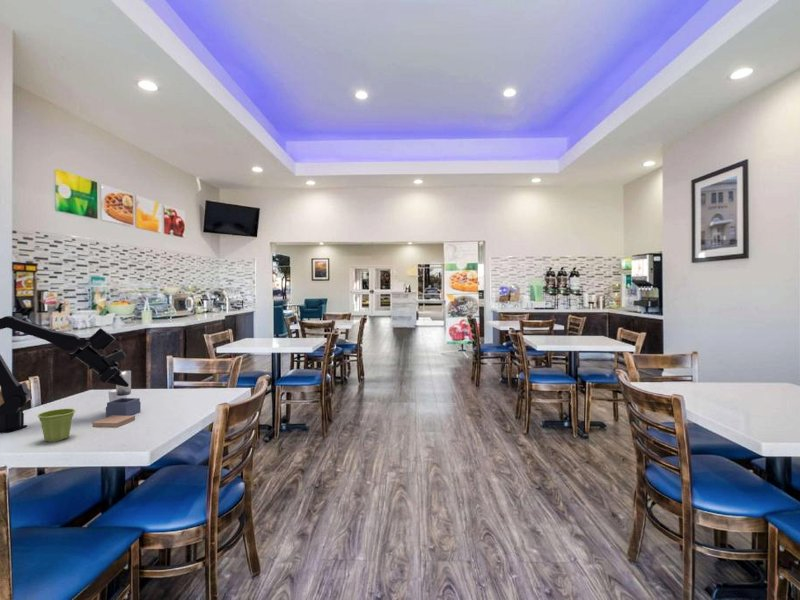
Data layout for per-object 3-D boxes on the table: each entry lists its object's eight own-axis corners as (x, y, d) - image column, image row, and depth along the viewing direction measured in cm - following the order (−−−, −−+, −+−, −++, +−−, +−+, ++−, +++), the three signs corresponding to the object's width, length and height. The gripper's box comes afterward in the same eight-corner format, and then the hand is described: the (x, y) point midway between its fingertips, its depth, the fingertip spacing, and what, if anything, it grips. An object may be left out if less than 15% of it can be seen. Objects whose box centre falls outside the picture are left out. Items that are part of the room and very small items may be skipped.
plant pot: (73, 440, 131) (73, 413, 131) (34, 446, 126) (34, 418, 126) (77, 432, 139) (77, 407, 139) (41, 437, 134) (40, 411, 134)
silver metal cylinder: (125, 395, 158) (125, 372, 158) (113, 395, 158) (113, 372, 158) (133, 393, 162) (133, 370, 162) (122, 392, 163) (122, 370, 163)
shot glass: (116, 409, 167) (115, 392, 167) (104, 408, 170) (104, 391, 170) (131, 405, 174) (131, 388, 174) (120, 403, 176) (120, 387, 176)
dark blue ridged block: (125, 417, 156) (125, 403, 156) (106, 417, 156) (106, 402, 156) (140, 411, 164) (140, 398, 164) (121, 411, 164) (121, 397, 164)
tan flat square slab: (116, 427, 144) (116, 423, 144) (92, 426, 145) (92, 422, 145) (135, 419, 153) (134, 415, 153) (112, 419, 154) (112, 415, 154)
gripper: (110, 345, 150) (146, 372, 156) (111, 341, 165) (143, 366, 172) (83, 369, 146) (121, 395, 152) (87, 362, 161) (121, 386, 167)
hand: (127, 384), depth 161 cm, fingers closed on silver metal cylinder, 5 cm apart
